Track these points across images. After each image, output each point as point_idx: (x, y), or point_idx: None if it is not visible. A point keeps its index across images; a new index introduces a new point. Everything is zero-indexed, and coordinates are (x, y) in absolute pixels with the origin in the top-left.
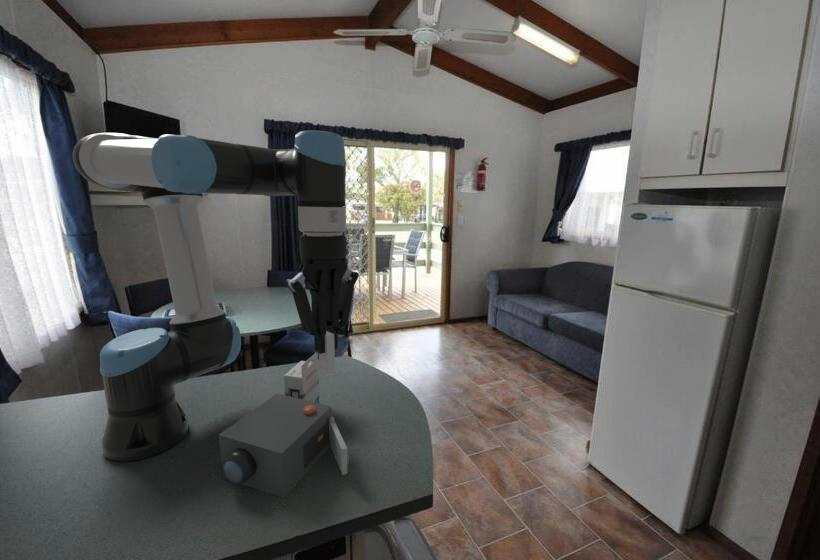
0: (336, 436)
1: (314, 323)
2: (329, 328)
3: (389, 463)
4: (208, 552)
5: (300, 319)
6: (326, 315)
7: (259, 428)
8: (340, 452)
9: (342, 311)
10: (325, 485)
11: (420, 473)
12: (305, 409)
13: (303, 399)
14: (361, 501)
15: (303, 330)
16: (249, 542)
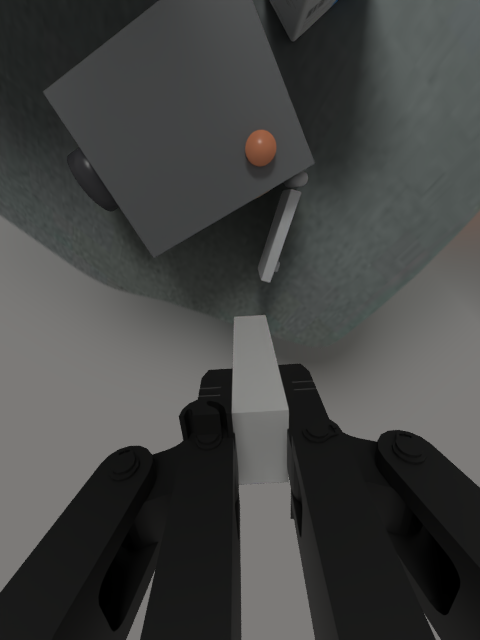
0: (274, 240)
1: (135, 608)
2: (291, 470)
3: (330, 283)
4: (72, 264)
5: (24, 574)
6: (314, 547)
7: (134, 137)
8: (263, 267)
9: (450, 634)
10: (231, 259)
11: (346, 326)
12: (250, 145)
13: (306, 2)
14: (254, 314)
15: (107, 459)
16: (117, 282)
